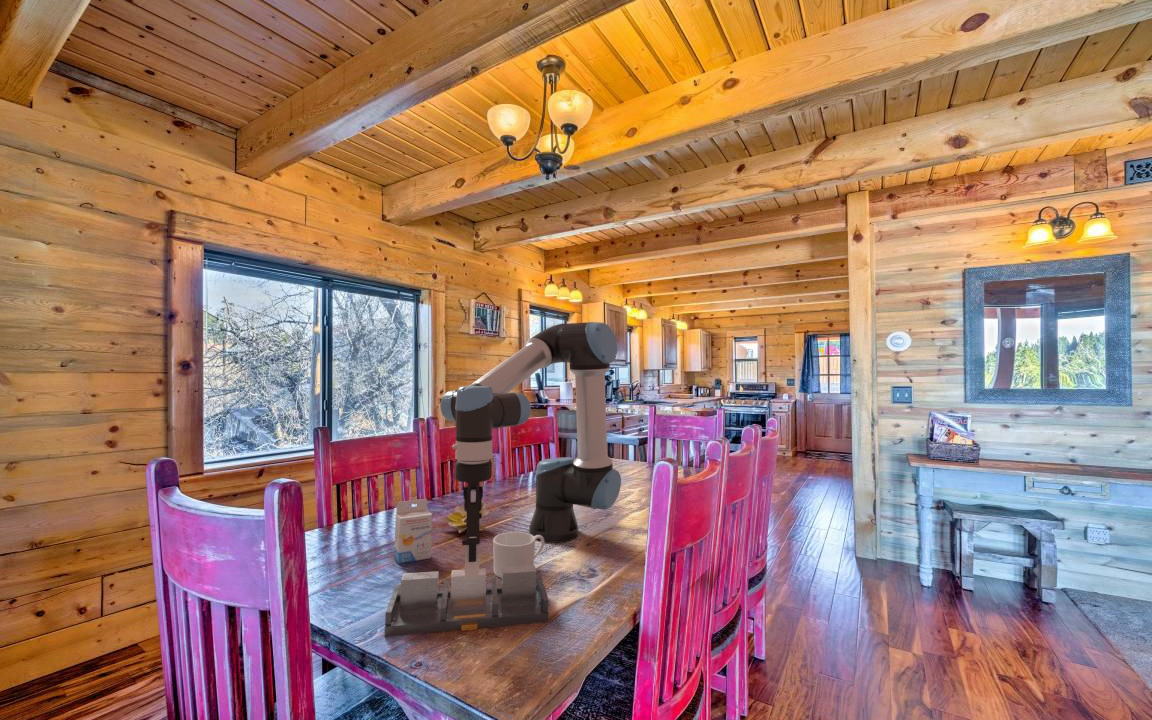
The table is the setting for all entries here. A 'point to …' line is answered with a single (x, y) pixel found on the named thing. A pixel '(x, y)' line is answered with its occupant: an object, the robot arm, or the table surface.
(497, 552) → the mug
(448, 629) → the rack
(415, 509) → the ink box
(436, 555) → the table surface
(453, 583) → the panel
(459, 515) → the decorative flower
